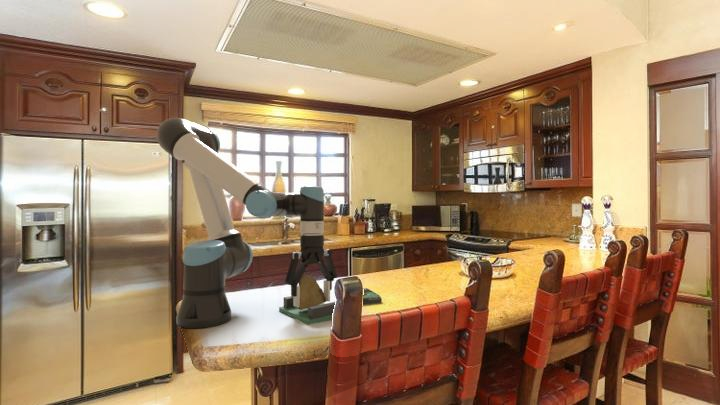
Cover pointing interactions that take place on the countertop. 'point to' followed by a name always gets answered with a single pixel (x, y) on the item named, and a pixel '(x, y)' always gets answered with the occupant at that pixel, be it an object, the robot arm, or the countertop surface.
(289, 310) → the socket board
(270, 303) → the countertop surface
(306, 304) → the rock
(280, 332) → the countertop surface
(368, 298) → the disk drive
